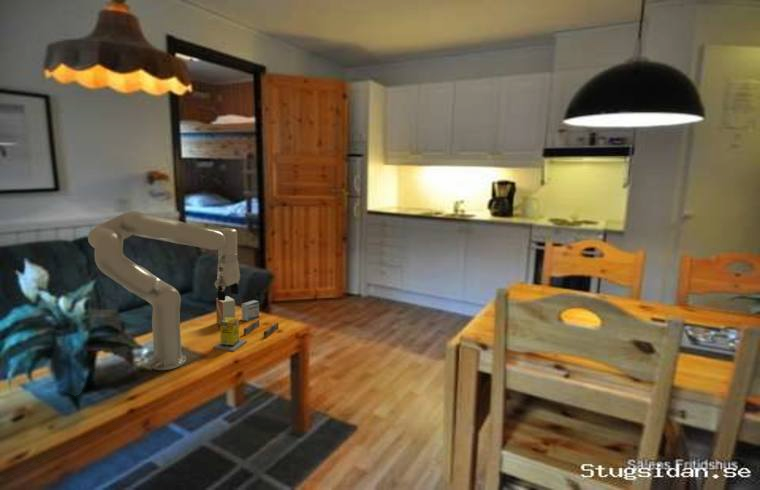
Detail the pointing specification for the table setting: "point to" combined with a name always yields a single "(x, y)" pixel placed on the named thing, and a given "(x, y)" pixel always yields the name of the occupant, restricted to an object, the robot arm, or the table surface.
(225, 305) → the small box
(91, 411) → the table surface
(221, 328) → the supplement box
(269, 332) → the divider rack
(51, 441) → the table surface
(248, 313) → the medicine box
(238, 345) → the grey tile
